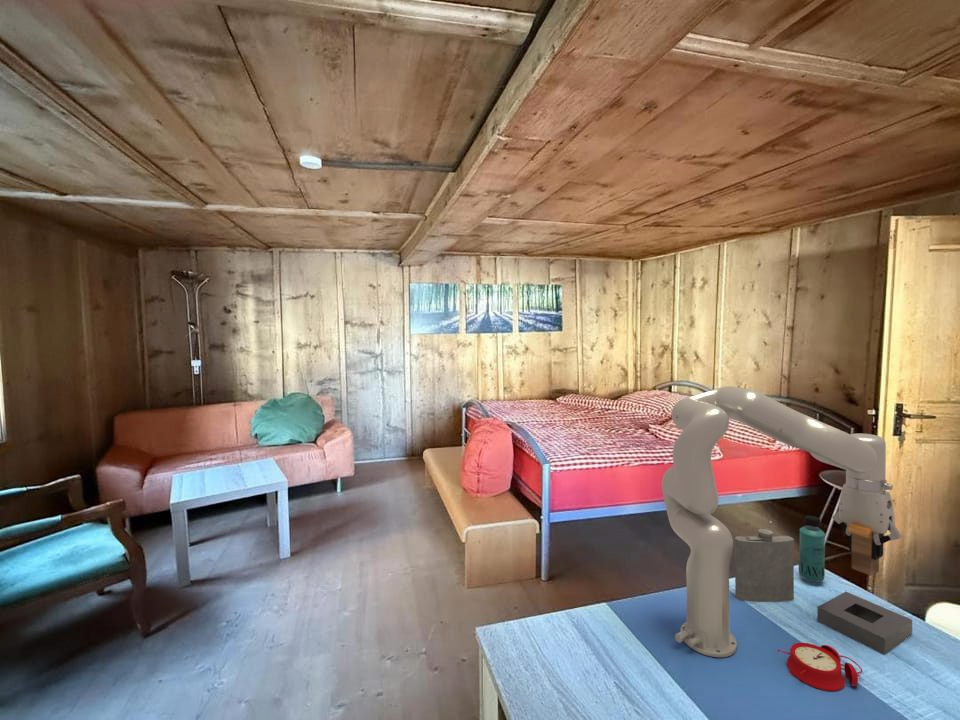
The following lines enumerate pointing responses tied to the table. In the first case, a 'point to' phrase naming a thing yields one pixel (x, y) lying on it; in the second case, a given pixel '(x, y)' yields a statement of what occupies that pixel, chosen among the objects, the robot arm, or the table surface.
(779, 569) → the hip flask
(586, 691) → the table surface
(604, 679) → the table surface
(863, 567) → the wooden peg block
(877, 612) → the collar
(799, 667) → the alarm clock
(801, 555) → the beverage bottle
